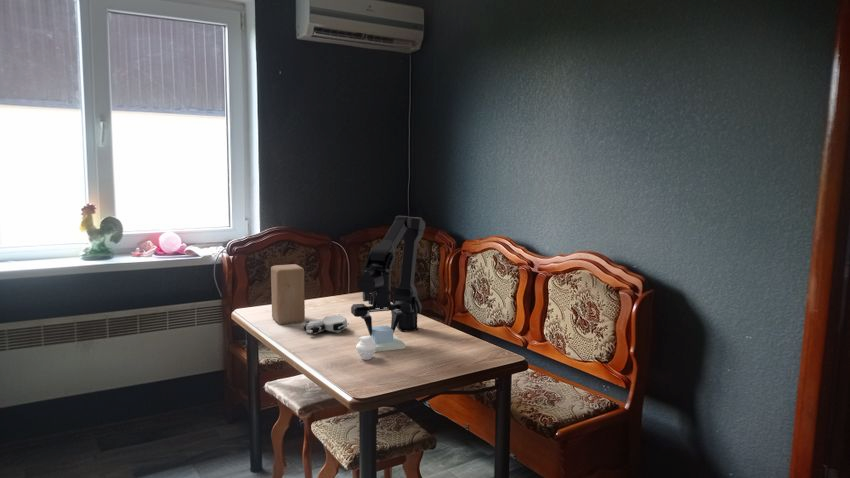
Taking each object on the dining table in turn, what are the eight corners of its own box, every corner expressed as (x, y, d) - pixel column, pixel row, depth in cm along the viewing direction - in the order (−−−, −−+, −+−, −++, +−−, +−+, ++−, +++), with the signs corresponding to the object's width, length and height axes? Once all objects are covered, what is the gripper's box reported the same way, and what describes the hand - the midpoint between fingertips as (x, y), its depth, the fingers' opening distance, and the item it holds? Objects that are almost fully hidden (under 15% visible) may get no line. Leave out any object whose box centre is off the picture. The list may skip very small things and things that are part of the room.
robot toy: (308, 341, 209) (351, 333, 214) (307, 328, 208) (350, 320, 214) (300, 331, 220) (342, 324, 226) (299, 318, 219) (341, 312, 225)
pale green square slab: (393, 337, 210) (393, 333, 210) (404, 348, 199) (405, 344, 199) (358, 341, 206) (358, 336, 206) (368, 352, 195) (368, 347, 195)
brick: (387, 336, 206) (387, 325, 206) (393, 342, 201) (393, 330, 200) (370, 338, 204) (370, 326, 203) (375, 344, 198) (375, 331, 198)
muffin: (376, 354, 193) (376, 332, 192) (377, 361, 187) (377, 338, 186) (355, 355, 192) (355, 333, 191) (356, 361, 186) (356, 338, 185)
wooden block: (278, 325, 224) (277, 270, 221) (271, 318, 232) (270, 265, 230) (305, 322, 228) (304, 268, 225) (297, 315, 237) (297, 263, 234)
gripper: (401, 280, 211) (401, 325, 213) (346, 283, 204) (347, 330, 206) (412, 287, 200) (412, 334, 202) (355, 290, 194) (355, 339, 196)
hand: (381, 334), depth 202 cm, fingers open, 7 cm apart
